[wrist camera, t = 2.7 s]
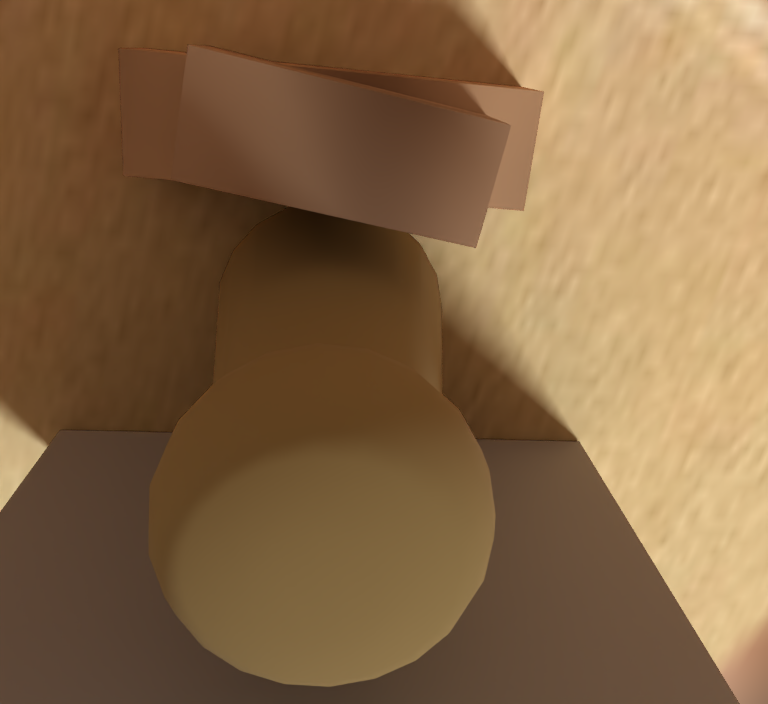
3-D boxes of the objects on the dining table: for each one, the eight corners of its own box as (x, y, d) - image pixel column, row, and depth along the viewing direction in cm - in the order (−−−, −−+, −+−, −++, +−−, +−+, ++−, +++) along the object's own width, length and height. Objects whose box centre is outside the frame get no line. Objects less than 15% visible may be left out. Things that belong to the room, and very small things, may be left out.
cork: (468, 371, 21) (593, 684, 11) (269, 438, 21) (204, 799, 11) (401, 166, 18) (477, 312, 8) (179, 246, 19) (-8, 478, 9)
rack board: (64, 463, 21) (-182, 838, 11) (59, 426, 21) (-203, 782, 11) (573, 472, 22) (764, 820, 12) (579, 438, 22) (784, 770, 12)
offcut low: (150, 159, 18) (123, 175, 16) (147, 48, 17) (118, 48, 15) (501, 191, 19) (523, 211, 17) (517, 86, 18) (543, 91, 16)
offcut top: (194, 161, 16) (170, 179, 14) (210, 46, 15) (188, 44, 13) (456, 221, 17) (476, 248, 14) (485, 114, 16) (511, 125, 14)
